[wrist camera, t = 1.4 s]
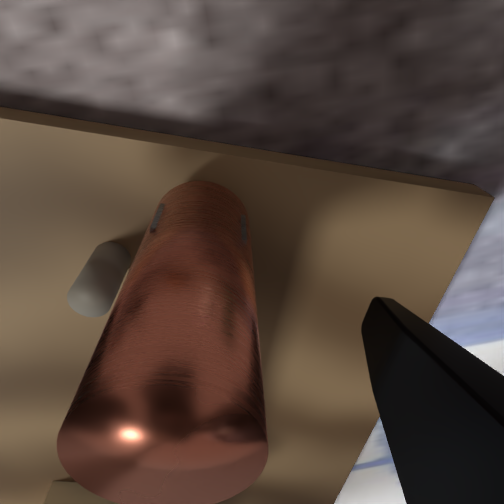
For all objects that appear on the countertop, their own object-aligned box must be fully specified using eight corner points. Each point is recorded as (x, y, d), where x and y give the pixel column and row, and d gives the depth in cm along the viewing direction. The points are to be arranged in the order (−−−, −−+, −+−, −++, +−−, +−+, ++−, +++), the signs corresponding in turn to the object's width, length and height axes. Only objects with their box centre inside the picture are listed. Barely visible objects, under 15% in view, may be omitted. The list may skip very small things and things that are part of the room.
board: (312, 513, 24) (324, 584, 21) (9, 500, 22) (-28, 576, 19) (473, 184, 13) (547, 230, 10) (-101, 89, 11) (-231, 112, 8)
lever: (194, 528, 21) (177, 748, 15) (136, 526, 21) (91, 752, 14) (262, 183, 11) (304, 396, 5) (152, 166, 11) (28, 373, 4)
